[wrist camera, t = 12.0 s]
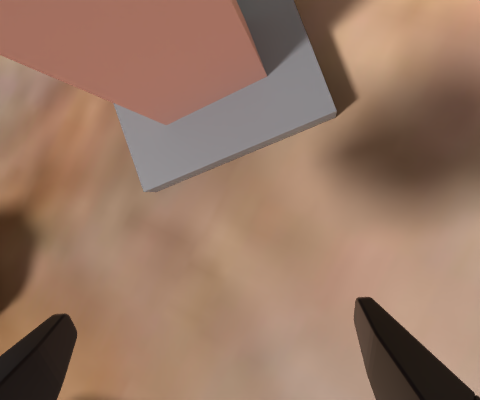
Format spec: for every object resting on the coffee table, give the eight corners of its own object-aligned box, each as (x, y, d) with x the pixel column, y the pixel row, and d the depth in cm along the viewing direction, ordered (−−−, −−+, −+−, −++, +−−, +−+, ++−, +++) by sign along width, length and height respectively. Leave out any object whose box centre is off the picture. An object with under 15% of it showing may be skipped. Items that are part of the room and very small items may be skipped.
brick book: (267, 76, 18) (128, -212, 5) (166, 125, 19) (-133, -2, 7) (244, 18, 18) (58, -394, 5) (146, 71, 19) (-178, -149, 7)
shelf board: (335, 117, 18) (336, 111, 17) (156, 191, 21) (143, 191, 20) (227, -160, 19) (220, -188, 18) (71, -53, 22) (54, -70, 21)
